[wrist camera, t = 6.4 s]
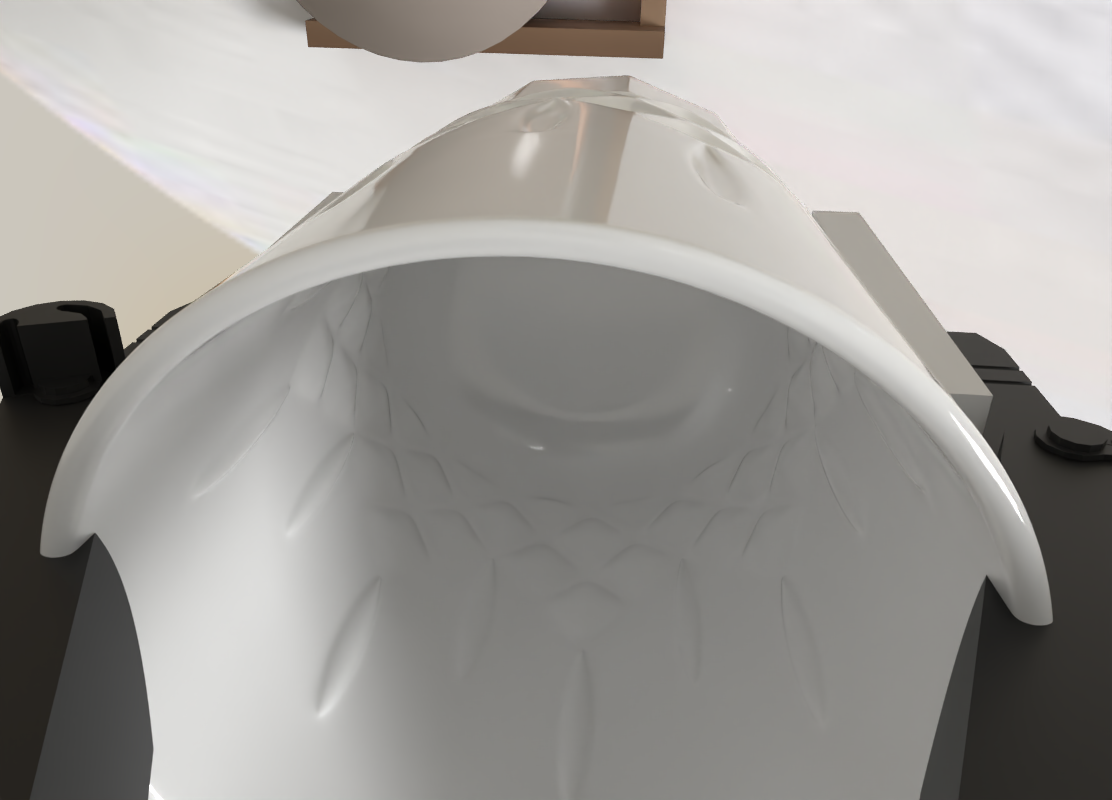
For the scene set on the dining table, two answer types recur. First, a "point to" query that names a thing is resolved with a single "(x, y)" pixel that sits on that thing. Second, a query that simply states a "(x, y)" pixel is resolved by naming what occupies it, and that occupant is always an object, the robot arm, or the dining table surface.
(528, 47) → the brown wooden rack
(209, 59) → the dining table surface
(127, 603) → the robot arm
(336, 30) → the terracotta jar
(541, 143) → the white cup
